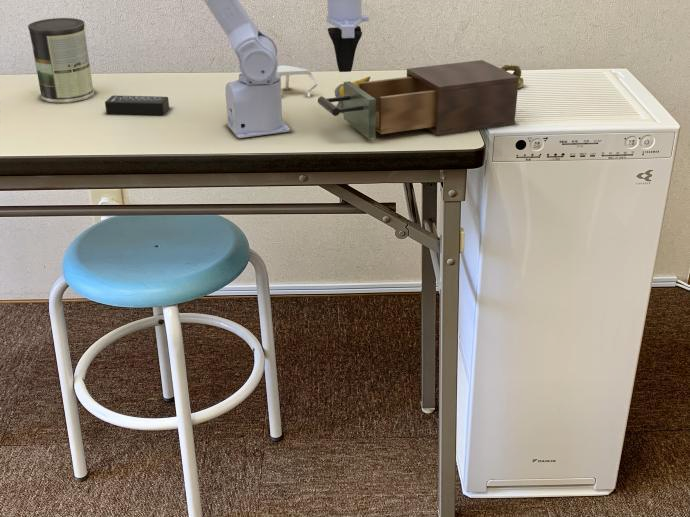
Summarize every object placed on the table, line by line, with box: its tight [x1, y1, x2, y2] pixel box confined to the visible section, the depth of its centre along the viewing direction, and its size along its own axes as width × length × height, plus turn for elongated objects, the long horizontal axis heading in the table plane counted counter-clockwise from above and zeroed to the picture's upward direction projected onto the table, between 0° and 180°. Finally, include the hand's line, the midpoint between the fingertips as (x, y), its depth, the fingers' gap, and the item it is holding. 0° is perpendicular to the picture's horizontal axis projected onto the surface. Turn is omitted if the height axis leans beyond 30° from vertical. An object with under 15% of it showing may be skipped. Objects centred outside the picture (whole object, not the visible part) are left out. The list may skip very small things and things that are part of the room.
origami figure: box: [277, 65, 319, 98], centre depth 165 cm, size 12×8×5 cm
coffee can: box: [27, 17, 95, 104], centre depth 163 cm, size 10×10×14 cm
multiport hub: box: [104, 94, 170, 117], centre depth 156 cm, size 4×11×2 cm, turn 85°
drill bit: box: [334, 76, 371, 109], centre depth 155 cm, size 5×5×10 cm
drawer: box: [317, 76, 437, 140], centre depth 144 cm, size 20×11×7 cm, turn 112°
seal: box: [500, 64, 524, 89], centre depth 170 cm, size 9×5×15 cm
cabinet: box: [406, 59, 519, 137], centre depth 150 cm, size 16×13×9 cm
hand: (344, 70), depth 144 cm, fingers closed
